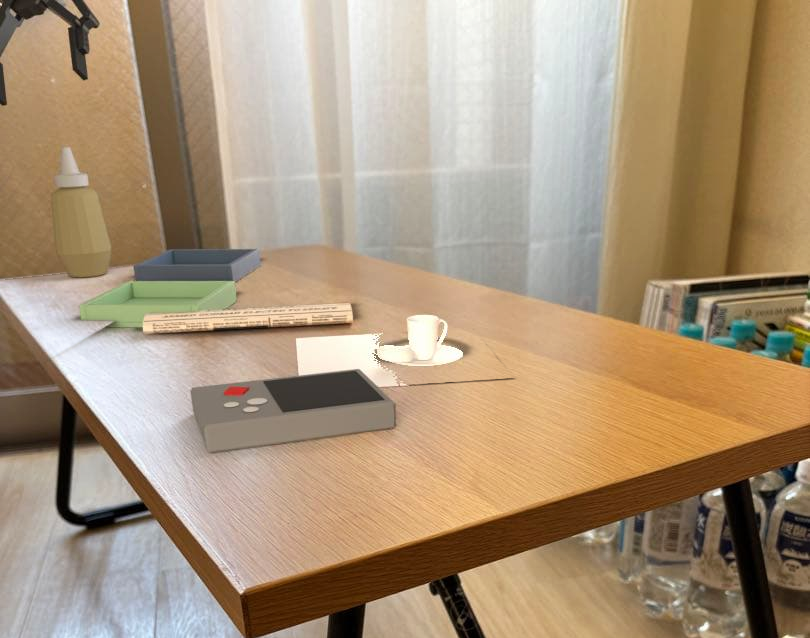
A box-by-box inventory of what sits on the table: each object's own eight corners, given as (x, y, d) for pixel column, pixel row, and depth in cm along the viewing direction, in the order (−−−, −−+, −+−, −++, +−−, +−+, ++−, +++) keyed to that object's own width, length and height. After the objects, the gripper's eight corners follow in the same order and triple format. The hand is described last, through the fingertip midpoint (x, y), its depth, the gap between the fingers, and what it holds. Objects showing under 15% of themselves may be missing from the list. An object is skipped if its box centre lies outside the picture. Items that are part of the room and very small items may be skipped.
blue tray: (136, 284, 130) (133, 265, 128) (171, 266, 143) (169, 249, 141) (233, 284, 128) (231, 265, 127) (260, 265, 141) (259, 248, 140)
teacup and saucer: (380, 373, 86) (378, 330, 84) (372, 351, 93) (370, 312, 91) (470, 367, 87) (470, 325, 85) (455, 347, 94) (455, 307, 92)
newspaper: (144, 337, 100) (141, 321, 100) (151, 322, 107) (149, 307, 106) (353, 325, 103) (352, 310, 102) (348, 312, 109) (347, 297, 108)
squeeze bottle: (123, 269, 141) (103, 145, 132) (103, 279, 133) (80, 148, 125) (74, 270, 141) (51, 146, 133) (51, 279, 134) (25, 149, 126)
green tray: (82, 327, 106) (78, 304, 105) (131, 300, 119) (127, 281, 118) (200, 327, 104) (197, 305, 103) (237, 301, 117) (234, 281, 116)
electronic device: (189, 385, 75) (360, 365, 79) (193, 412, 76) (361, 392, 80) (204, 423, 66) (396, 399, 70) (208, 454, 68) (397, 429, 72)
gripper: (113, -53, 134) (129, 78, 131) (-31, -3, 139) (-17, 124, 137) (84, -91, 126) (100, 47, 124) (-66, -37, 132) (-53, 96, 129)
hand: (39, 87), depth 130 cm, fingers open, 13 cm apart
